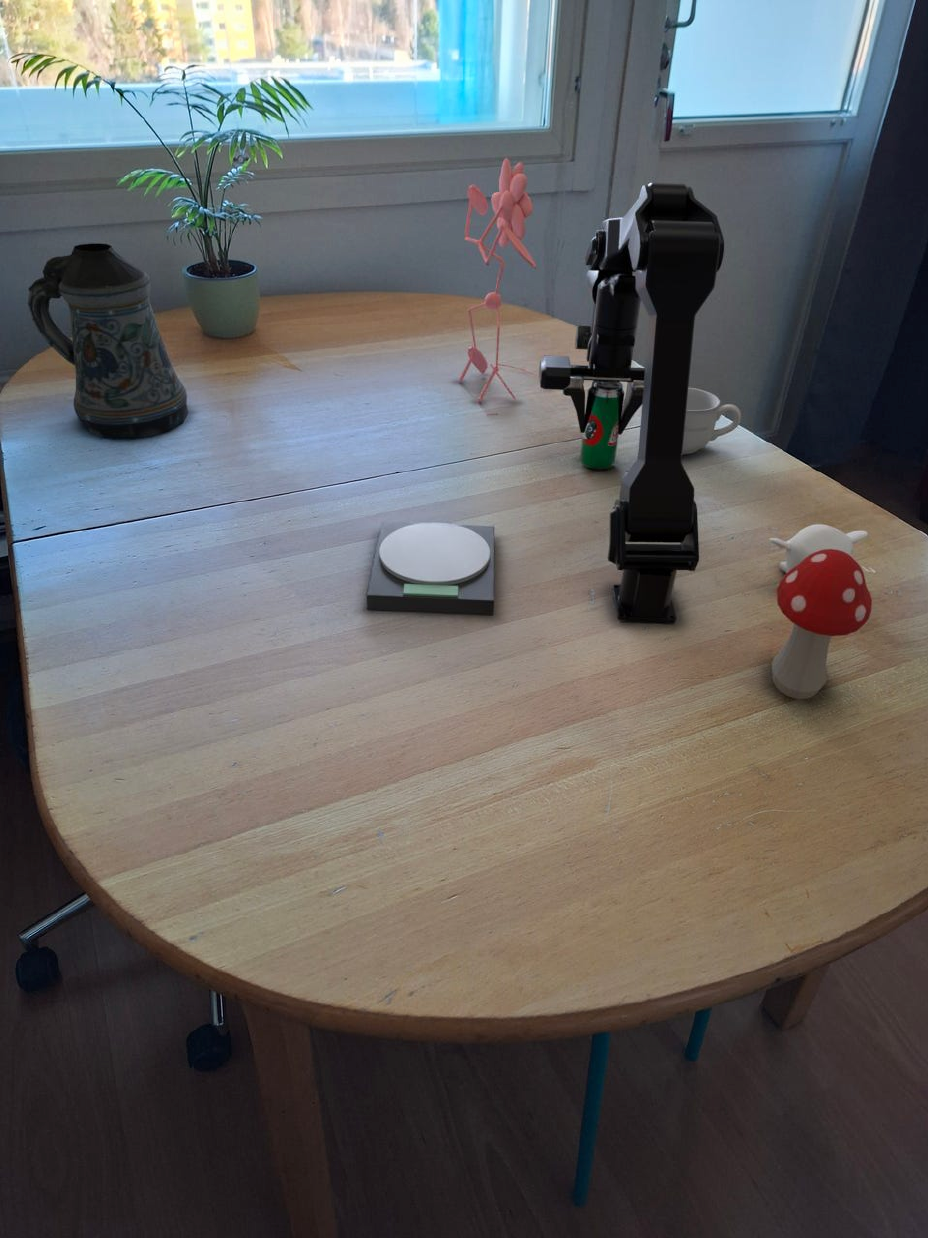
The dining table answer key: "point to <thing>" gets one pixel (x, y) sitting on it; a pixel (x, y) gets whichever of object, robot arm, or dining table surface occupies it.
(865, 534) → the figurine
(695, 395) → the teacup
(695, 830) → the dining table surface
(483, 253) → the figurine
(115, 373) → the beer stein
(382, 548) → the kitchen scale
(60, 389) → the dining table surface
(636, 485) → the robot arm
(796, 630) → the decorative mushroom
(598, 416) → the soda can
